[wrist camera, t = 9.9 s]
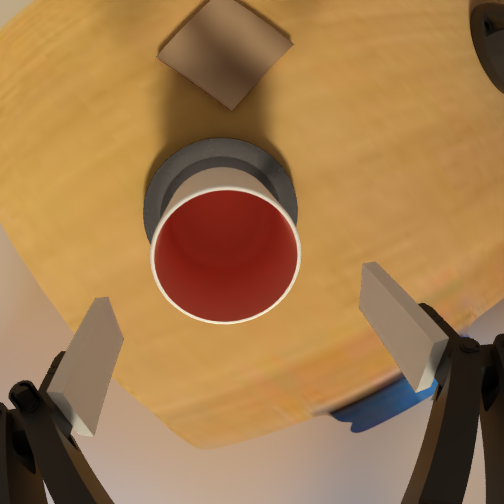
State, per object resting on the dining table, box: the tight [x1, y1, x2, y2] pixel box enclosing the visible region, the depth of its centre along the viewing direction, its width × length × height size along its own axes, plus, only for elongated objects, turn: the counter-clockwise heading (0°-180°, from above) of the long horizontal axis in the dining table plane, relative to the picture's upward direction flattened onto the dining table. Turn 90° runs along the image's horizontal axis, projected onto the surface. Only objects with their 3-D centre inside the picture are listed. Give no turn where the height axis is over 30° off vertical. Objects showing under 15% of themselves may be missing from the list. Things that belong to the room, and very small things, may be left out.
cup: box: [150, 167, 301, 324], centre depth 24 cm, size 10×10×10 cm
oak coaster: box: [156, 0, 294, 111], centre depth 24 cm, size 9×9×1 cm
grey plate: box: [143, 138, 298, 245], centre depth 30 cm, size 15×15×2 cm
